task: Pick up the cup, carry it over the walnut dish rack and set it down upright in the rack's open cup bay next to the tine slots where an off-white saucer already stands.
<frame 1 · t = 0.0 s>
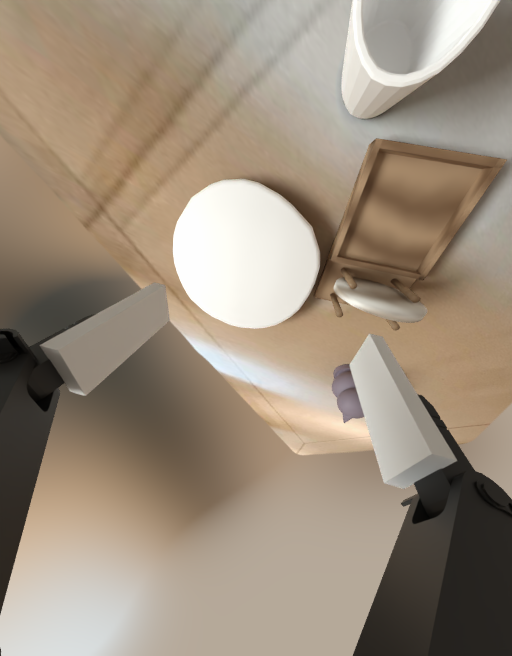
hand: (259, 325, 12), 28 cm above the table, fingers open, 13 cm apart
cat figurine: (346, 372, 49), on the table
cup: (373, 77, 23), on the table
rack: (381, 243, 32), on the table
plate: (245, 262, 39), on the table
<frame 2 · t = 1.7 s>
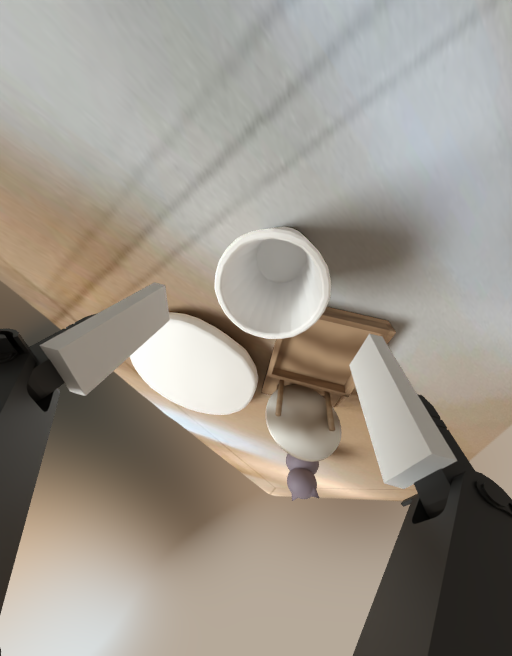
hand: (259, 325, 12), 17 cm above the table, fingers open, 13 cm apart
cat figurine: (301, 442, 53), on the table
cup: (281, 256, 27), on the table
rack: (312, 361, 36), on the table
plate: (198, 359, 42), on the table
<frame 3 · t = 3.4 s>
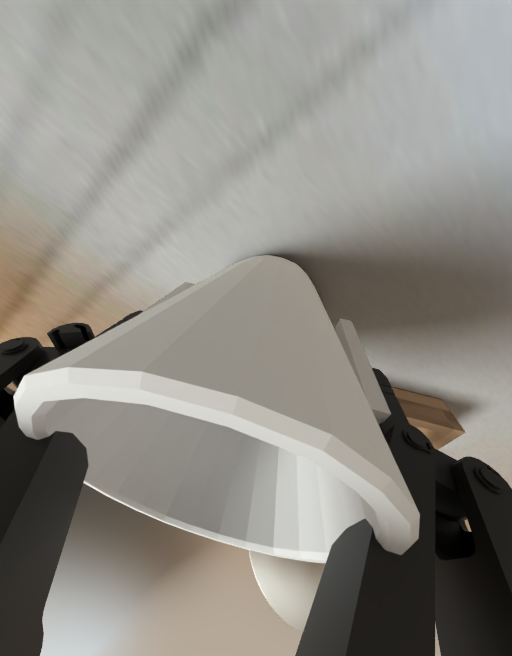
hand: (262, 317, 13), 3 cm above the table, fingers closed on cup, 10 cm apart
cup: (268, 300, 16), on the table, touching gripper
rack: (317, 436, 25), on the table
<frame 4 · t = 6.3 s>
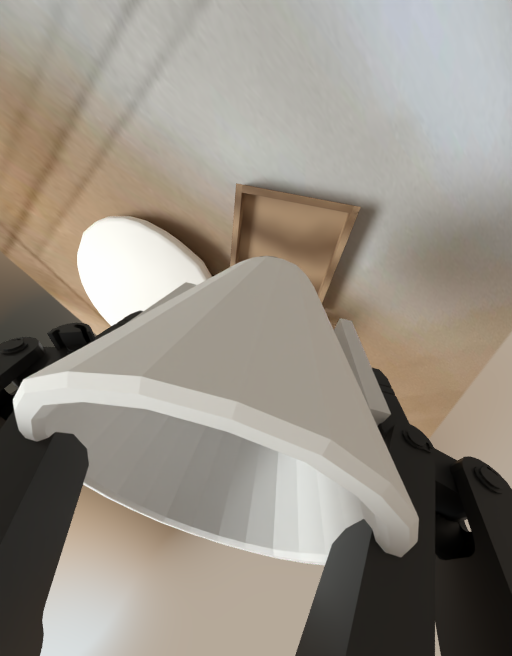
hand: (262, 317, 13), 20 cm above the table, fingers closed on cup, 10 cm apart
cup: (268, 300, 16), point 17 cm above the table, touching gripper
rack: (278, 277, 32), on the table
plate: (160, 290, 39), on the table
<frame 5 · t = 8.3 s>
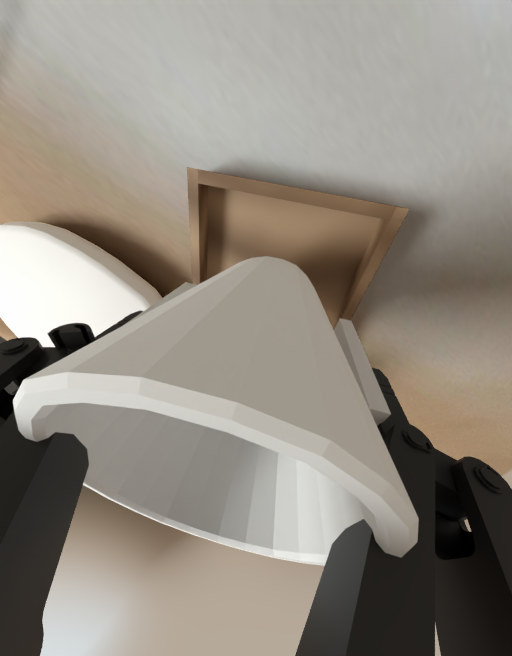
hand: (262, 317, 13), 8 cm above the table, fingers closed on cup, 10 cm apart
cup: (268, 301, 16), point 5 cm above the table, touching gripper
rack: (267, 310, 22), on the table
plate: (110, 320, 29), on the table
when the fingers open (5 cm above the table, at t = 9.5 s): cup drops 1 cm, resting on rack.
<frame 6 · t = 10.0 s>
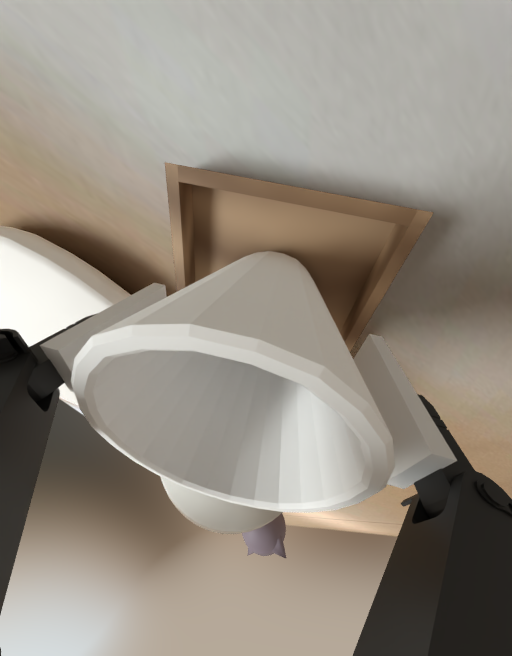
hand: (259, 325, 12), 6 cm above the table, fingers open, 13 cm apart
cat figurine: (271, 459, 37), on the table
cup: (270, 294, 17), point 1 cm above the table, touching rack
rack: (264, 324, 20), on the table
plate: (94, 331, 26), on the table
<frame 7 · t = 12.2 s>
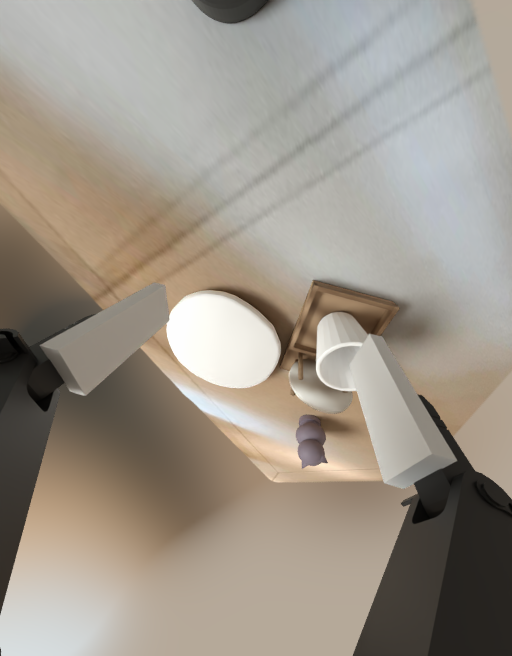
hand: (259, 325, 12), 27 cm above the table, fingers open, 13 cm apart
cat figurine: (309, 420, 59), on the table
cup: (335, 325, 39), point 1 cm above the table, touching rack
rack: (327, 338, 42), on the table
plate: (225, 337, 48), on the table
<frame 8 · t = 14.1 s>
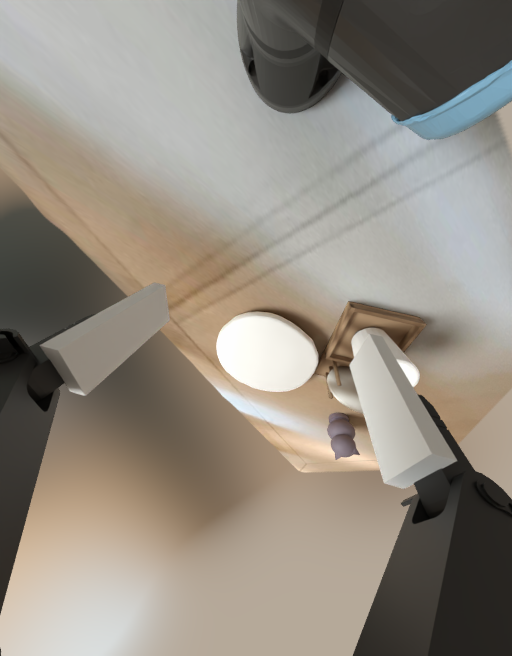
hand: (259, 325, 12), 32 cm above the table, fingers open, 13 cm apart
cat figurine: (338, 417, 65), on the table
cup: (367, 338, 45), point 1 cm above the table, touching rack
rack: (359, 347, 48), on the table
plate: (266, 348, 55), on the table
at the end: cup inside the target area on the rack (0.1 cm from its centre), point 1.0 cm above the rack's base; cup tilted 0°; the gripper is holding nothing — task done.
